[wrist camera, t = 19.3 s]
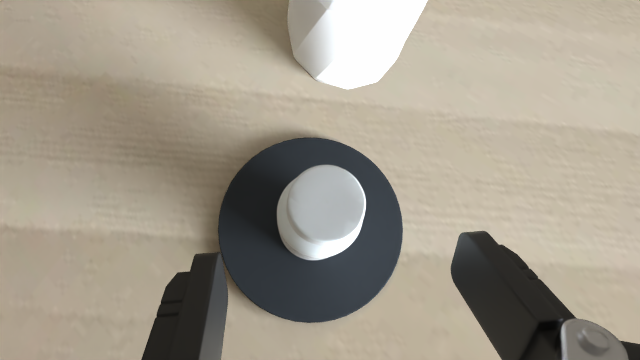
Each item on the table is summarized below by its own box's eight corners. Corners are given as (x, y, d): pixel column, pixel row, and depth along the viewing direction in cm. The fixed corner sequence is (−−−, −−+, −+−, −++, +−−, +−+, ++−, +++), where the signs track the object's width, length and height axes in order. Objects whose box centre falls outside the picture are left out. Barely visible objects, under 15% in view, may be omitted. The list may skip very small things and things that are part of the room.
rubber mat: (359, 356, 20) (360, 357, 20) (183, 269, 21) (181, 269, 20) (425, 184, 24) (427, 183, 23) (272, 112, 24) (272, 109, 24)
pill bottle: (312, 179, 23) (325, 134, 15) (359, 226, 22) (397, 203, 15) (264, 225, 22) (253, 200, 14) (312, 275, 21) (327, 277, 14)
